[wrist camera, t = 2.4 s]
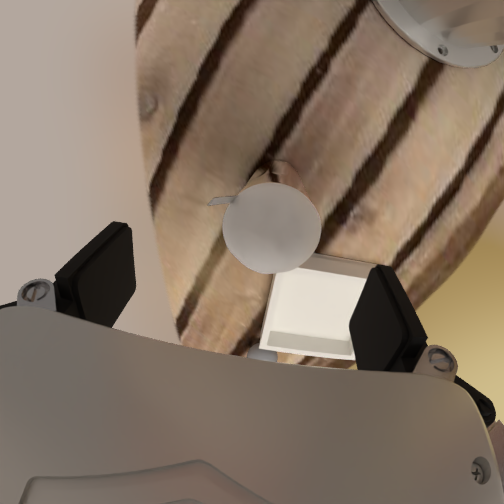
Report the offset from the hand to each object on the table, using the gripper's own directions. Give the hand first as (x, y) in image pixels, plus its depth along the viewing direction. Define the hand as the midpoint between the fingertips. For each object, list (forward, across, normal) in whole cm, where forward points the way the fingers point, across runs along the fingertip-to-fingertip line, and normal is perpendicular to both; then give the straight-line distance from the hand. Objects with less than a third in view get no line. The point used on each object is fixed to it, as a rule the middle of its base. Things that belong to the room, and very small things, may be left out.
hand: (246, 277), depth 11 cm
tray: (+12, -6, +9) cm, 16 cm away
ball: (+12, -2, +16) cm, 20 cm away
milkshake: (+12, 0, -1) cm, 12 cm away
